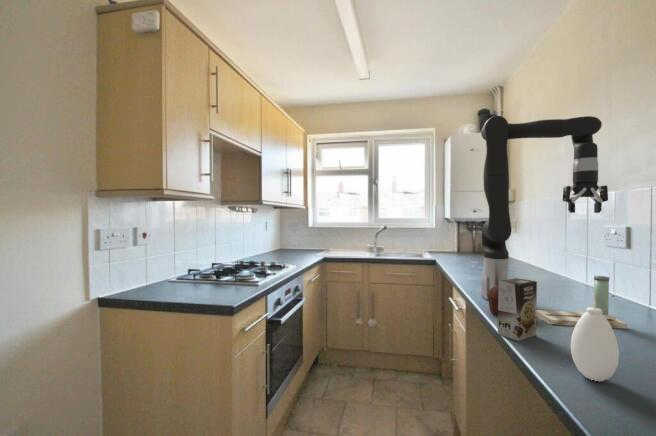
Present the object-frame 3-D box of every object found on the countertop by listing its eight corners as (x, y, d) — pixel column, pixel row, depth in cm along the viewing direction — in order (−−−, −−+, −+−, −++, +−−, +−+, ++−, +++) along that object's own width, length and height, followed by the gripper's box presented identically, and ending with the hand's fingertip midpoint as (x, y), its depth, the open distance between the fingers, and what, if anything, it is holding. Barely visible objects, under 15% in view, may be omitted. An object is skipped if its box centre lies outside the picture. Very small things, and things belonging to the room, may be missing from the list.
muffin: (531, 319, 104) (532, 289, 104) (502, 321, 102) (502, 291, 102) (506, 308, 116) (506, 282, 115) (479, 309, 114) (479, 283, 114)
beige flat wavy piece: (549, 324, 99) (549, 319, 99) (533, 314, 109) (533, 309, 109) (627, 328, 95) (627, 323, 95) (603, 317, 105) (603, 313, 105)
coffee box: (518, 342, 86) (519, 284, 85) (496, 333, 91) (497, 280, 91) (537, 335, 90) (538, 281, 90) (515, 328, 95) (515, 277, 95)
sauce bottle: (573, 366, 72) (574, 290, 72) (619, 379, 66) (620, 296, 66) (567, 378, 66) (568, 296, 66) (616, 394, 61) (618, 304, 60)
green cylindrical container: (598, 318, 99) (598, 278, 98) (586, 312, 104) (587, 274, 104) (616, 319, 98) (616, 278, 98) (603, 313, 103) (604, 275, 103)
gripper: (570, 169, 115) (570, 212, 116) (613, 168, 113) (613, 212, 113) (559, 172, 123) (558, 212, 123) (599, 171, 120) (598, 212, 121)
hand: (584, 212), depth 118 cm, fingers open, 8 cm apart
